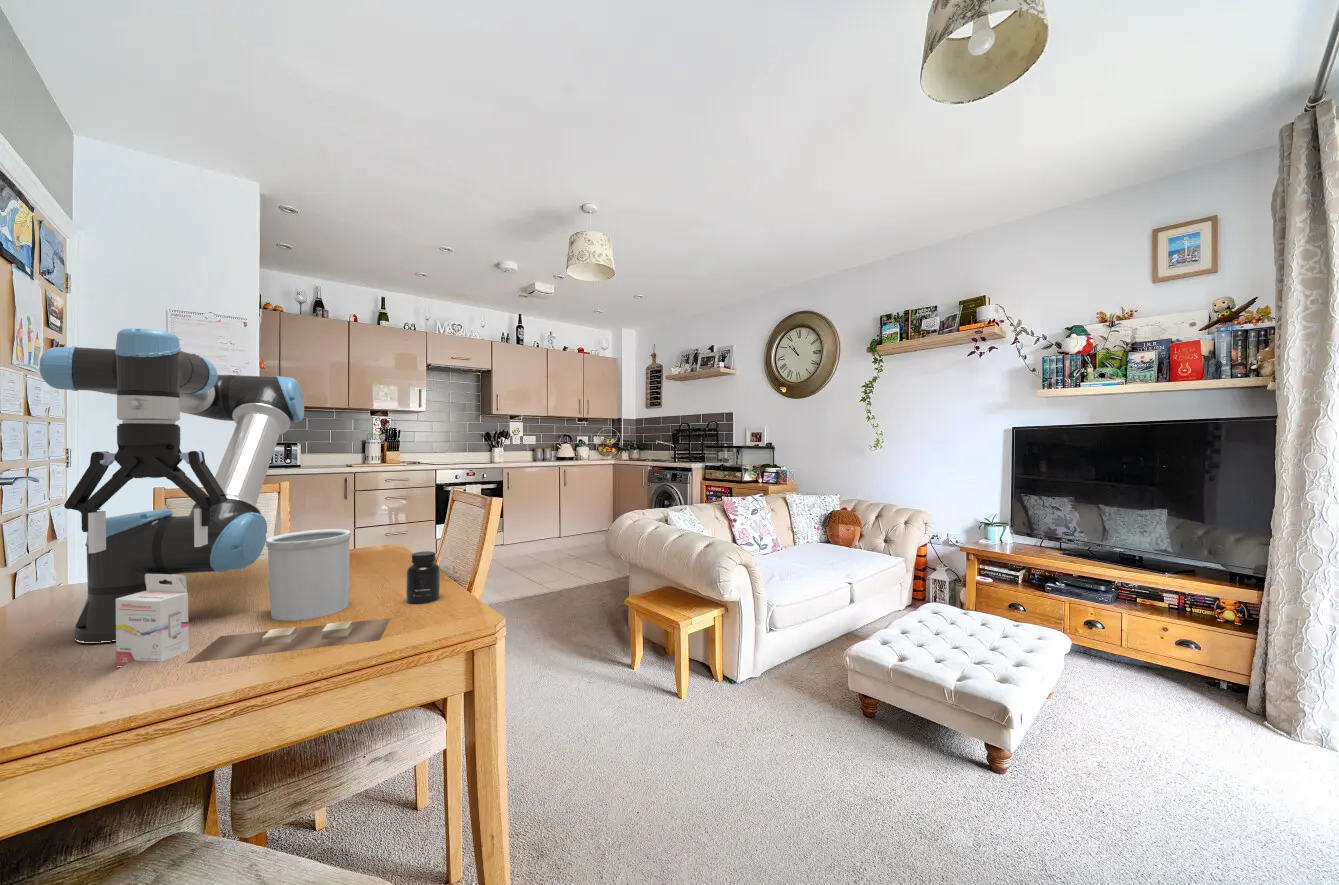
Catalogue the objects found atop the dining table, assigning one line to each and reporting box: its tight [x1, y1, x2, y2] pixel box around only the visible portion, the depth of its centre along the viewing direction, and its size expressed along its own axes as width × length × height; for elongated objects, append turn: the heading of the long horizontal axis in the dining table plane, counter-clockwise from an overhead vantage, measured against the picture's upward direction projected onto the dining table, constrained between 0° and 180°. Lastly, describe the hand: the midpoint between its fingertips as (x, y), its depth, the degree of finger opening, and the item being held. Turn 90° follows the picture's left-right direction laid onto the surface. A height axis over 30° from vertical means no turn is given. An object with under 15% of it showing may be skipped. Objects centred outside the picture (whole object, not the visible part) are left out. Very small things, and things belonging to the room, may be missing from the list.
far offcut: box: [322, 620, 353, 639], centre depth 97 cm, size 4×4×2 cm
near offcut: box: [262, 626, 298, 646], centre depth 94 cm, size 4×4×2 cm
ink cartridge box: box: [115, 574, 190, 667], centre depth 87 cm, size 9×5×15 cm, turn 84°
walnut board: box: [186, 617, 391, 664], centre depth 95 cm, size 28×12×2 cm, turn 110°
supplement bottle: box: [406, 550, 441, 605], centre depth 117 cm, size 7×7×12 cm
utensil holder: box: [265, 528, 351, 622], centre depth 110 cm, size 15×15×18 cm
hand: (150, 548), depth 87 cm, fingers open, 13 cm apart
